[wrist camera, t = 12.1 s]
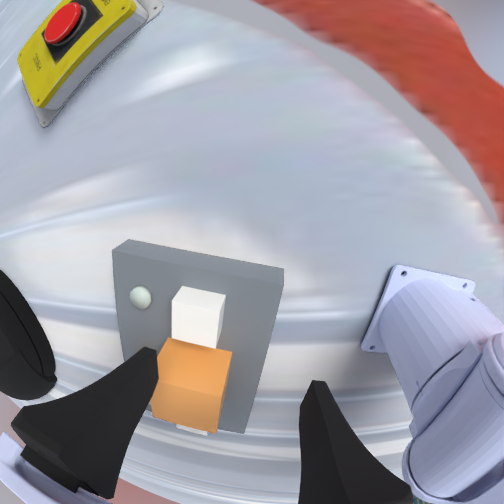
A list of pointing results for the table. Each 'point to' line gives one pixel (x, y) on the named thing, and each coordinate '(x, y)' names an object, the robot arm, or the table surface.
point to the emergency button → (76, 47)
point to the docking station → (22, 348)
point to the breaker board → (211, 276)
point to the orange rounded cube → (191, 384)
